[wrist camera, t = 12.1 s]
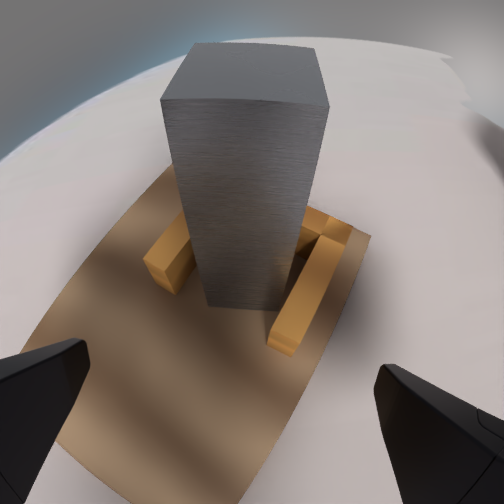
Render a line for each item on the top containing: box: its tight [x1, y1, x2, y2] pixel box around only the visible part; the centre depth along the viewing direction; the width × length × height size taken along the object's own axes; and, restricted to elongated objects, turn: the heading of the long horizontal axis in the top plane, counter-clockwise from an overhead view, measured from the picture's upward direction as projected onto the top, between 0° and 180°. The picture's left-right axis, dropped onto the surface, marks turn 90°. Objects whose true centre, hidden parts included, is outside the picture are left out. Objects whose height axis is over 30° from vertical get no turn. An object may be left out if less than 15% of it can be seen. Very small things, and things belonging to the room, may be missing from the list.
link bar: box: [160, 43, 330, 312], centre depth 13 cm, size 4×4×13 cm
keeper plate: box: [20, 163, 371, 504], centre depth 16 cm, size 22×16×4 cm
